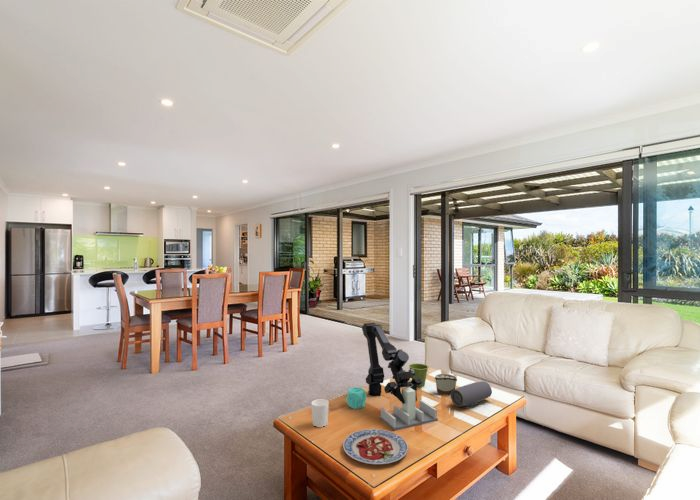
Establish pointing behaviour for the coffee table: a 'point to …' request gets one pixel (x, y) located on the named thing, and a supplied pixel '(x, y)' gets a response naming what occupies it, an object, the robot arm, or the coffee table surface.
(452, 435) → the coffee table surface
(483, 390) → the bluetooth speaker
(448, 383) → the food container
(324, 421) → the white cup
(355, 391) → the decorative dice
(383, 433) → the ceramic plate
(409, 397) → the cream white box
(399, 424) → the dish rack
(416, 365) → the plant pot
